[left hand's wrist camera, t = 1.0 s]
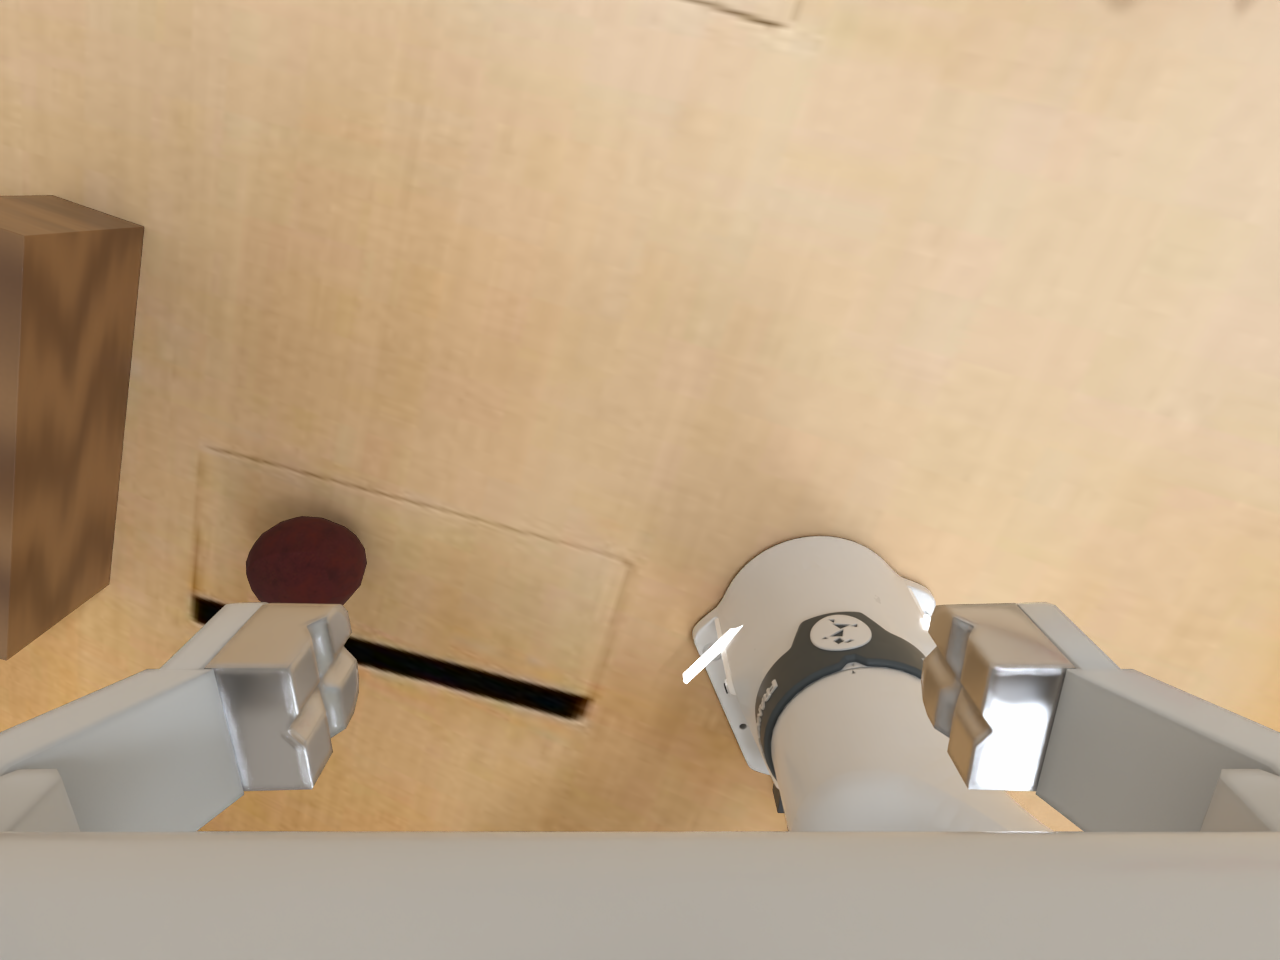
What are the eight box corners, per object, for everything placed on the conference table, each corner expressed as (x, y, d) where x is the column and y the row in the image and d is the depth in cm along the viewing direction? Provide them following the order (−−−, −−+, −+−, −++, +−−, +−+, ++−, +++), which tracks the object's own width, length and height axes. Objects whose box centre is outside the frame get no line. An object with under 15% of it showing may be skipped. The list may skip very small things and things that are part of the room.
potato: (261, 511, 54) (209, 555, 48) (360, 491, 54) (321, 533, 47) (298, 595, 57) (254, 648, 51) (393, 577, 56) (361, 629, 50)
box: (52, 195, 47) (-94, 196, 37) (144, 226, 47) (24, 235, 38) (32, 562, 56) (-88, 636, 47) (109, 584, 57) (6, 660, 48)
